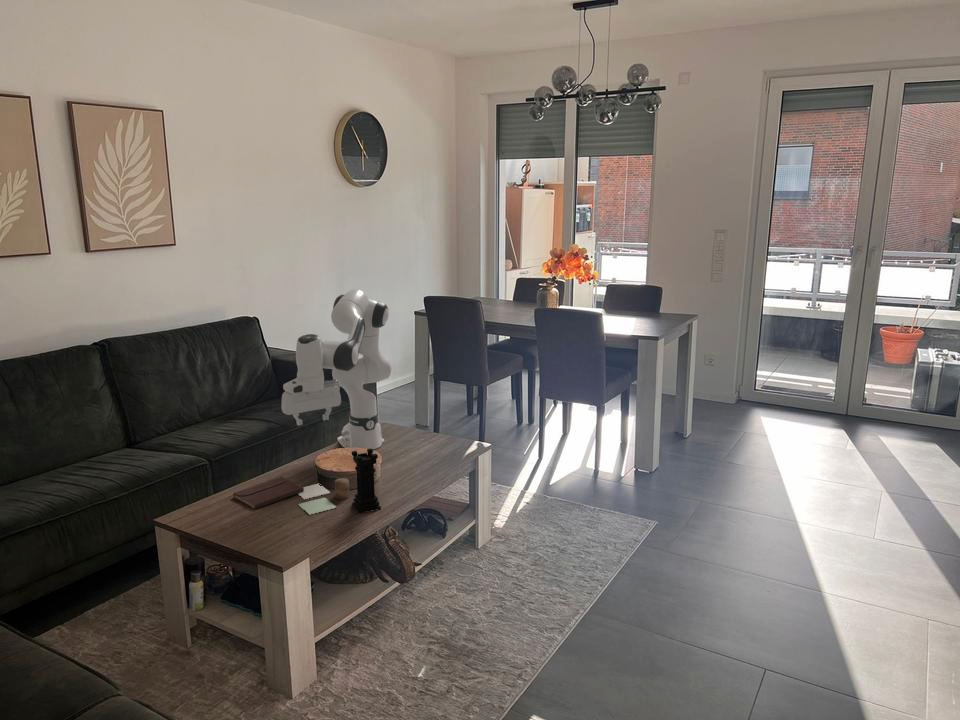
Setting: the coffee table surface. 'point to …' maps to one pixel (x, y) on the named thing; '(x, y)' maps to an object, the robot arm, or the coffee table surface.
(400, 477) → the coffee table surface
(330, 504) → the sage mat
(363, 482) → the chess piece
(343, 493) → the brown cylinder
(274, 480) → the notebook
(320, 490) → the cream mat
